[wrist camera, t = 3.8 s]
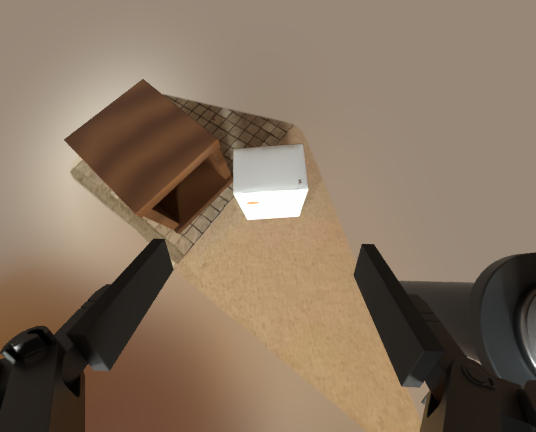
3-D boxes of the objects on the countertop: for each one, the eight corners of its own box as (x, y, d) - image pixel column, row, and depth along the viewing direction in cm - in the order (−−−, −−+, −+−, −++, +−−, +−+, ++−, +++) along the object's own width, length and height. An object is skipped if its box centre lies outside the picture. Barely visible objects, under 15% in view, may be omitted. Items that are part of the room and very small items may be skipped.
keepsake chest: (235, 179, 33) (218, 138, 24) (179, 234, 31) (135, 214, 21) (178, 131, 36) (142, 78, 27) (124, 178, 34) (63, 139, 24)
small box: (296, 183, 33) (305, 141, 23) (299, 217, 31) (310, 188, 21) (245, 186, 33) (232, 146, 23) (246, 220, 31) (232, 193, 21)
